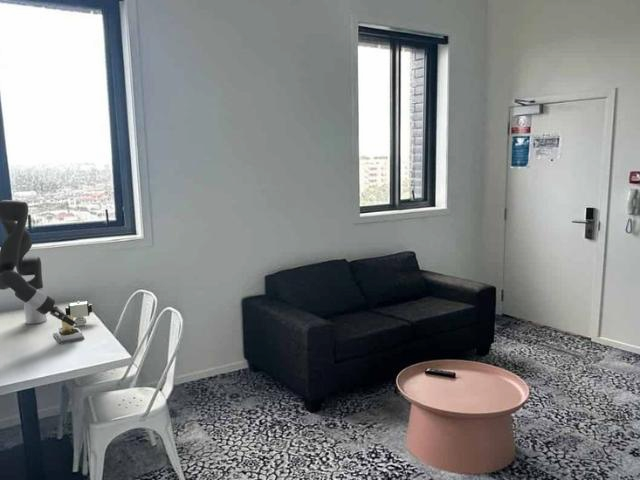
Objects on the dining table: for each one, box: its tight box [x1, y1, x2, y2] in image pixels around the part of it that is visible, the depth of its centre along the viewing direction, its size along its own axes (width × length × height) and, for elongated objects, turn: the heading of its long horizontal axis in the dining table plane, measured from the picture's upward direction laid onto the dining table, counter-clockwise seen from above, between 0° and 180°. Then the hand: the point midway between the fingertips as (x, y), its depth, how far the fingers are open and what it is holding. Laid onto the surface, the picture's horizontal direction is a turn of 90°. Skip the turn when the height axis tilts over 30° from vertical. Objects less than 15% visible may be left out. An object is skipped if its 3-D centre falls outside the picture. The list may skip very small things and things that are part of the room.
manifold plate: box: [52, 327, 85, 345], centre depth 237 cm, size 15×10×3 cm, turn 37°
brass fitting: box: [61, 316, 75, 336], centre depth 235 cm, size 5×5×9 cm
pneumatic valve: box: [64, 300, 93, 327], centre depth 256 cm, size 6×12×12 cm, turn 114°
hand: (71, 322), depth 235 cm, fingers open, 7 cm apart
